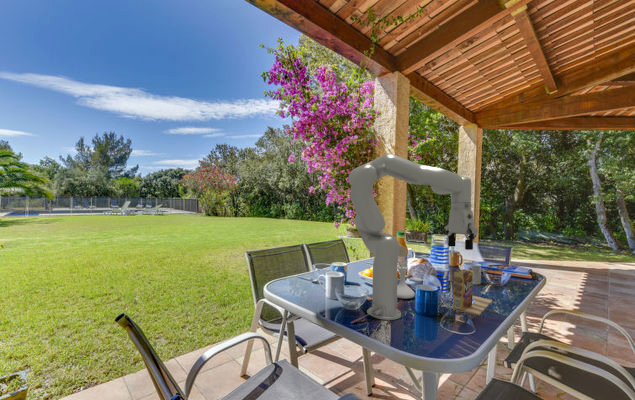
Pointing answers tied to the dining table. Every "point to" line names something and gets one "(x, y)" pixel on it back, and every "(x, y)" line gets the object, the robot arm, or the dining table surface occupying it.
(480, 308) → the striped wooden board
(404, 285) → the flower in vase
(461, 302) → the candy box
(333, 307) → the dining table surface
